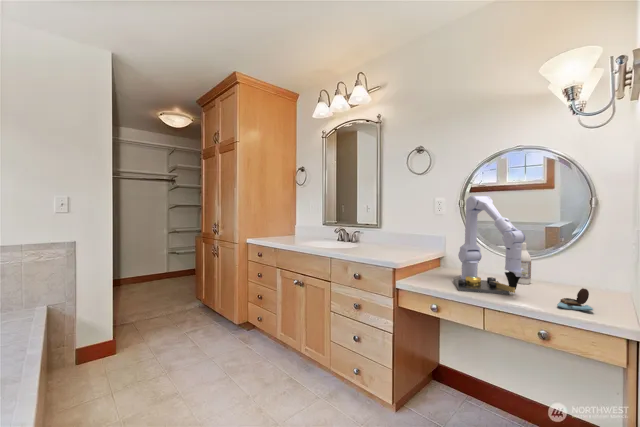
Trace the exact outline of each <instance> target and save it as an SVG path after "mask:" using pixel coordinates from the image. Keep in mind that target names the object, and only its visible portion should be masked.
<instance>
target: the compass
mask: <svg viewBox="0 0 640 427" xmlns="http://www.w3.org/2000/svg"><path fill="white" fill-rule="evenodd" d="M589 297H590V293H589V290H588V289H587V288H584V287H582V288H581V289H580V290H579V291H578V292H577V293H576V299H574V298H569V297H568V298H567V297H564V298H563V297H562V299H560V302H561V303H564V304H567V305H571V306H579V307H581V306H582V305H584V304H585V303H586V302H588V300H589Z"/></svg>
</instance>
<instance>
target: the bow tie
mask: <svg viewBox="0 0 640 427" xmlns="http://www.w3.org/2000/svg"><path fill="white" fill-rule="evenodd" d="M557 307H559V308H561V309H564V310H573V311H577V310H578V311H594V308H593V307H591V306H589V305H588V304H585V305H580V306H572V305H567V304H564V303H561V301H559V302H558V303H557Z"/></svg>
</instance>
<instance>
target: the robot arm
mask: <svg viewBox="0 0 640 427" xmlns="http://www.w3.org/2000/svg"><path fill="white" fill-rule="evenodd" d="M482 211H484V212H485V213H486V214H487V215H489V217H491V219H492V220H493V221H494V226H495V228H496V229H497V230H498V231H499V232H500V234H501V235H502V241H503V242H504V247H505V266H504V270H505V272H504V275H505V277H506V279H507V282H508V284H507V285H508V286H512V287H515V291H516V290H517V285H518V284H519V283H518V281H519V279H520V277H522V272H521V271H524V269H523V268H521V251H522V243H525V240H526V234H525V233H524V231H522V230H519V229H518V228H516V226H514V224H513V223H512V222H511V220H510V218H507V217H505V216H504V217H503V216H502V214H500V212H499V210H498V209H497V207H496V206H495V205H494V200H493V199H492V198H491V196H489V195H471V196H469V197H468V198H467V199H466V200H465V219H464V220H465V223H464V224H465V225H464V226H465V229H464V244H463V245H461V246H460V247H459V252H458V259H459V261H460V263H461V274H460V275H459V279H466V276H476V277H478V269H479V268H478V264H479V263H480V262H481V260H482V252H481V247H480V246H479V245H477V242H478V239H477V238H478V214H480V213H481V212H482Z"/></svg>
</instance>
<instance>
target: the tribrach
mask: <svg viewBox="0 0 640 427" xmlns="http://www.w3.org/2000/svg"><path fill="white" fill-rule="evenodd" d="M486 278H487V279H486V280H484V279H483V280H482V278H481V277H479V276H477V277H476V276H466V279H461V278H458V277H457V278H453V279H452V280H453V283H454V285H455V287H456V288H457V289H456V290H457V291H458V292H471V293H481V294H494V295H506V296H507V295H508V296H509V295H510V292H509V291H506V290H503V289H500V288H496V287H491V286H489V281H497V282H498V283H500V281H498V280H497V278H496V277H492V276H490V277H486Z"/></svg>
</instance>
